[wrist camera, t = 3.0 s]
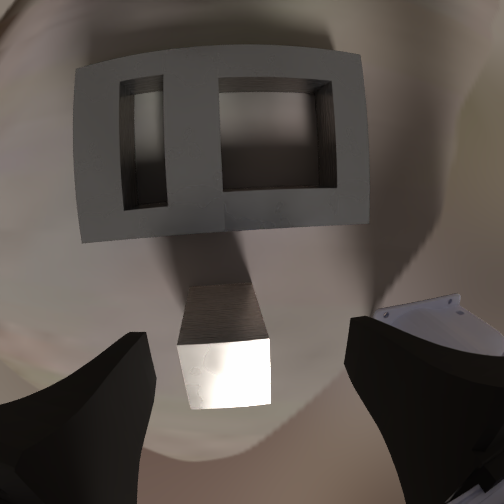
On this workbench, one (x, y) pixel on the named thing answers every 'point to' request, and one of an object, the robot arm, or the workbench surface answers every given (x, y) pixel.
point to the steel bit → (224, 347)
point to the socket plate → (215, 141)
